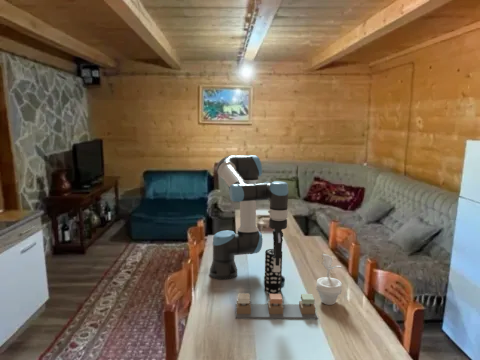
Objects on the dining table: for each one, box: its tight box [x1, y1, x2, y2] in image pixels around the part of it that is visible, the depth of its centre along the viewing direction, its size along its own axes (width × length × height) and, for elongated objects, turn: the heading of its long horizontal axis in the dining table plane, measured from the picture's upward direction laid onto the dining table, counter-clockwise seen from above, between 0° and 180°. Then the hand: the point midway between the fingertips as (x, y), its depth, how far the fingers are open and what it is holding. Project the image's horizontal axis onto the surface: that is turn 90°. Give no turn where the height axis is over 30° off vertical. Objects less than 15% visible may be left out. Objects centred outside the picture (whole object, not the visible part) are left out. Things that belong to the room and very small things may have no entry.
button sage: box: [300, 293, 315, 306], centre depth 161 cm, size 5×5×5 cm
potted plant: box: [315, 252, 343, 306], centre depth 169 cm, size 13×12×25 cm
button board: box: [235, 300, 319, 320], centre depth 161 cm, size 11×35×4 cm, turn 91°
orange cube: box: [269, 293, 283, 306], centre depth 161 cm, size 5×5×5 cm
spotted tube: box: [263, 248, 283, 295], centre depth 181 cm, size 8×8×20 cm
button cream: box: [237, 293, 251, 306], centre depth 161 cm, size 5×5×5 cm
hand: (276, 271), depth 158 cm, fingers closed
